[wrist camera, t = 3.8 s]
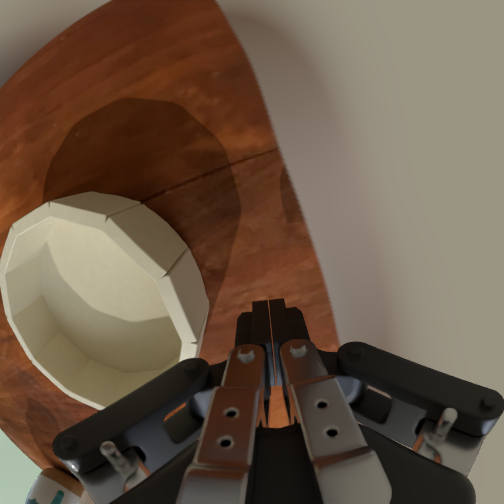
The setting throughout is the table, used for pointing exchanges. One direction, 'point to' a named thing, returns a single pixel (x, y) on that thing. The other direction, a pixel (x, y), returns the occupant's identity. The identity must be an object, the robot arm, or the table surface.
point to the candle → (85, 498)
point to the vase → (55, 488)
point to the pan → (101, 295)
